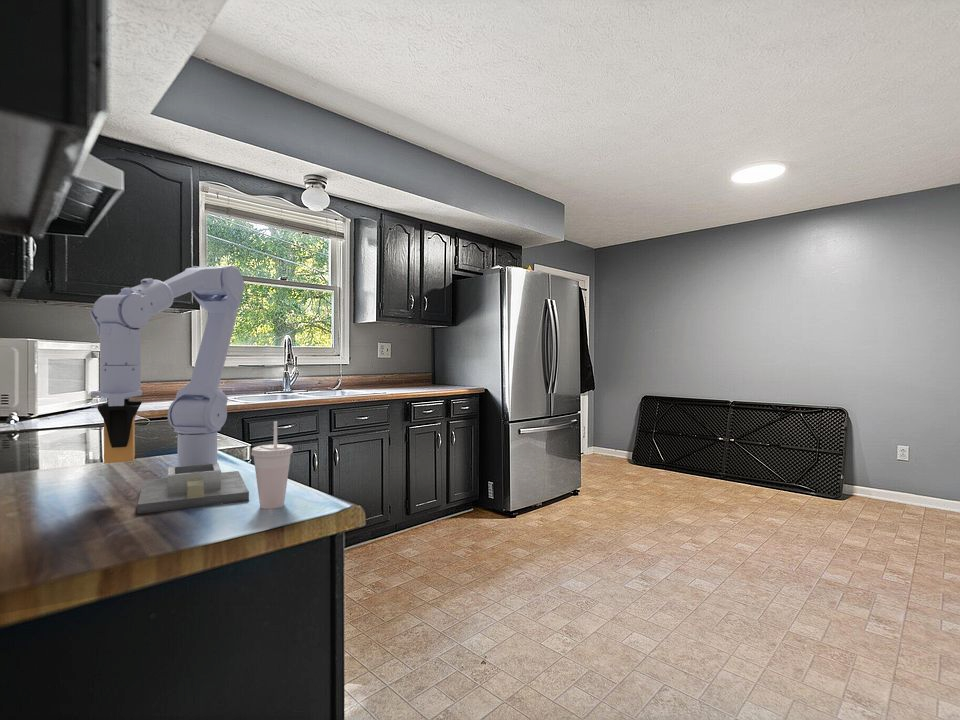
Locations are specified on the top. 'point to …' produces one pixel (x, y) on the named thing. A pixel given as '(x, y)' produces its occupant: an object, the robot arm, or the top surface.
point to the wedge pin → (119, 448)
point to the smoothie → (272, 472)
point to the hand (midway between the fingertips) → (120, 444)
